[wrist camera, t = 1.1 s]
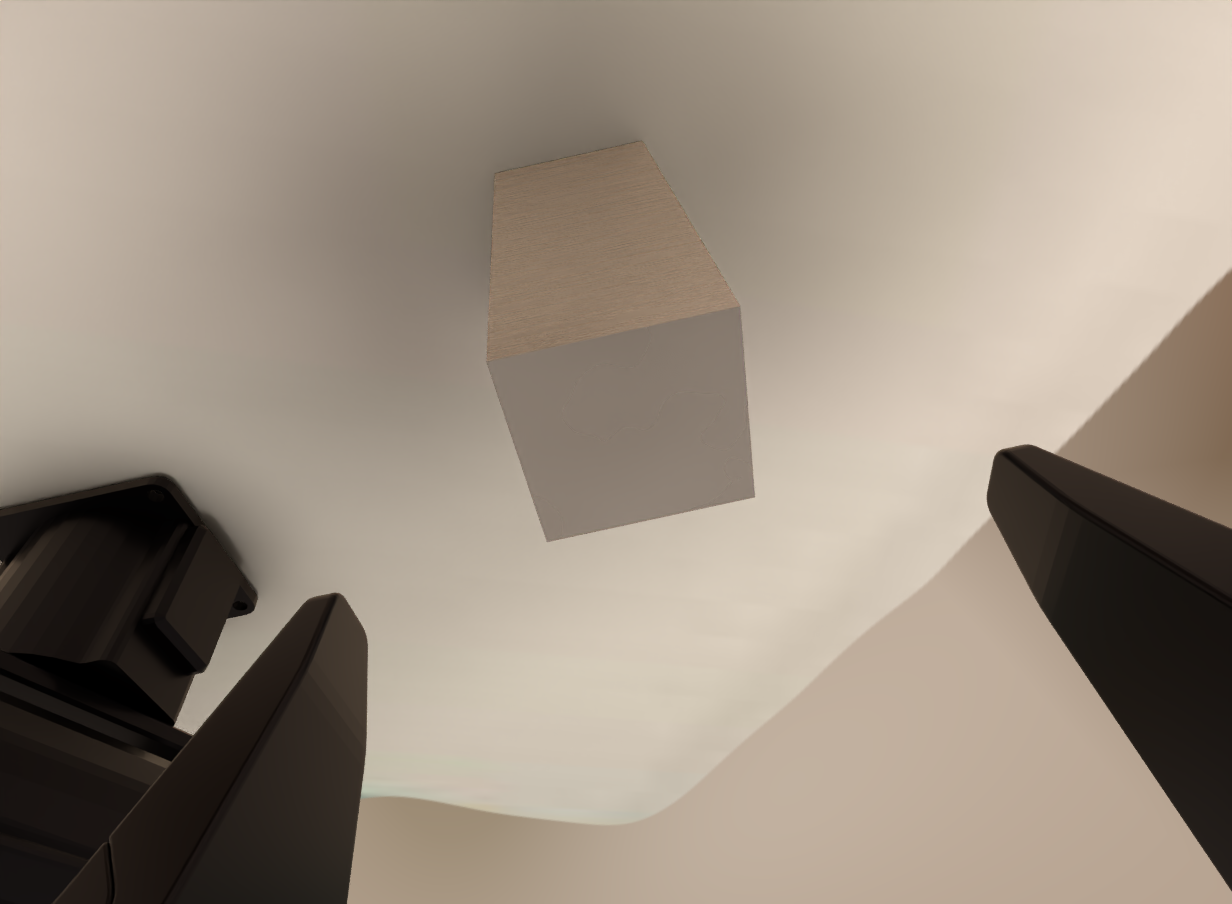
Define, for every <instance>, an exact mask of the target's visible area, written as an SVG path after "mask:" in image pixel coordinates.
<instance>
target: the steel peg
mask: <svg viewBox="0 0 1232 904" xmlns="http://www.w3.org/2000/svg"><path fill="white" fill-rule="evenodd" d="M487 365H488V368H489V371H490V374H491V377H492V380H493V383H494V386H495V389H496V391H497V394H498V397H499V400H500V403H501V406H502V409H503V412H504V415H505V418H506V421H507V424H508V427H509V430H510V433H511V436H512V439H513V442H514V445H515V448H516V451H517V454H518V457H519V460H520V463H521V466H522V469H523V472H524V475H525V478H526V481H527V484H528V487H529V490H530V493H531V496H532V499H533V502H534V505H535V508H536V511H537V514H538V517H539V520H540V523H541V526H542V528H543V531H544V534H545V537H546V540H547V542H550V541H554V540H559V539H563V538H568V537H573V536H577V535H582V534H587V533H591V532H596V531H600V530H605V529H610V528H614V527H619V526H624V525H628V524H633V523H637V522H642V521H647V520H651V519H656V518H661V517H665V516H670V515H674V514H679V513H684V512H688V511H693V510H698V509H702V508H707V507H711V506H716V505H721V504H725V503H730V502H734V501H739V500H744V499H748V498H753V497H755V492H754V479H753V466H752V453H751V440H750V427H749V414H748V402H747V389H746V376H745V363H744V350H743V337H742V324H741V311H740V305H739V303H738V302H737V300H736V298H735V297H734V295H733V293H732V292H731V290H730V288H729V286H728V285H727V283H726V281H725V280H724V278H723V276H722V275H721V273H720V271H719V270H718V268H717V266H716V264H715V263H714V261H713V259H712V258H711V256H710V254H709V253H708V251H707V249H706V247H705V246H704V244H703V242H702V241H701V239H700V237H699V236H698V234H697V232H696V231H695V229H694V227H693V225H692V224H691V222H690V220H689V219H688V217H687V215H686V214H685V212H684V210H683V209H682V207H681V205H680V203H679V202H678V200H677V198H676V197H675V195H674V193H673V192H672V190H671V188H670V187H669V185H668V183H667V181H666V180H665V178H664V176H663V175H662V173H661V171H660V170H659V168H658V166H657V164H656V163H655V161H654V159H653V158H652V156H651V154H650V153H649V151H648V149H647V148H646V146H645V144H644V142H643V141H639V142H634V143H630V144H625V145H621V146H616V147H612V148H607V149H603V150H598V151H594V152H589V153H585V154H580V155H576V156H571V157H567V158H562V159H558V160H553V161H549V162H544V163H540V164H535V165H531V166H526V167H522V168H517V169H513V170H508V171H504V172H499V173H495V180H494V203H493V226H492V249H491V271H490V294H489V317H488V339H487Z"/></svg>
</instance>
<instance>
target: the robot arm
mask: <svg viewBox="0 0 1232 904" xmlns="http://www.w3.org/2000/svg"><path fill="white" fill-rule="evenodd" d="M153 490H157V491H160V492H161V493H162V494H158V493H156V492H154V491H153ZM987 504H988V508H989V511H990V513H991V515H992V517H993V519H994V521H995V523H996V524H997V527H998V528H999V530H1000V532H1001V534H1002V536H1003V538H1004V540H1005V542H1006V544H1007V546H1008V548H1009V549H1010V551H1011V553H1012V555H1013V557H1014V559H1015V561H1016V563H1017V565H1018V567H1019V569H1020V571H1021V573H1022V574H1023V576H1024V578H1025V580H1026V582H1027V584H1028V586H1029V588H1030V590H1031V592H1032V593H1033V595H1034V597H1035V599H1036V601H1037V602H1038V604H1039V606H1040V608H1041V609H1042V611H1043V612H1044V614H1045V615H1046V617H1047V618H1048V620H1049V622H1050V623H1051V625H1052V626H1053V628H1054V629H1055V630H1056V632H1057V633H1058V635H1059V636H1060V638H1061V639H1062V641H1063V642H1064V644H1065V645H1066V647H1067V648H1068V650H1069V651H1070V653H1071V654H1072V656H1073V657H1074V659H1075V660H1076V662H1077V663H1078V664H1079V666H1080V667H1081V669H1082V670H1083V672H1084V673H1085V675H1086V676H1087V678H1088V679H1089V681H1090V682H1091V684H1092V685H1093V687H1094V688H1095V690H1096V691H1097V692H1098V694H1099V696H1100V697H1101V699H1102V700H1103V702H1104V703H1105V704H1106V706H1107V707H1108V709H1109V710H1110V712H1111V713H1112V715H1113V716H1114V718H1115V719H1116V721H1117V722H1118V724H1119V725H1120V727H1121V728H1122V730H1123V731H1124V733H1125V734H1126V735H1127V737H1128V738H1129V740H1130V741H1131V743H1132V744H1133V746H1134V747H1135V749H1136V750H1137V752H1138V753H1139V755H1140V756H1141V758H1142V759H1143V761H1144V762H1145V764H1146V765H1147V767H1148V768H1149V770H1150V771H1151V773H1152V774H1153V776H1154V777H1155V779H1156V780H1157V781H1158V783H1159V784H1160V786H1161V787H1162V789H1163V790H1164V792H1165V793H1166V795H1167V796H1168V798H1169V799H1170V801H1171V802H1172V804H1173V805H1174V807H1175V808H1176V810H1177V811H1178V812H1179V814H1180V816H1181V817H1182V818H1183V820H1184V821H1185V823H1186V824H1187V826H1188V827H1189V829H1190V830H1191V832H1192V833H1193V835H1194V836H1195V838H1196V839H1197V841H1198V842H1199V844H1200V845H1201V847H1202V848H1203V850H1204V851H1205V853H1206V854H1207V855H1208V857H1209V858H1210V860H1211V861H1212V863H1213V864H1214V866H1215V867H1216V869H1217V870H1218V872H1219V873H1220V875H1221V876H1222V877H1223V879H1224V881H1225V882H1226V884H1227V885H1228V886H1229V888H1230V890H1231V891H1232V529H1231V528H1229V527H1227V526H1224V525H1221V524H1219V523H1217V522H1215V521H1212V520H1210V519H1208V518H1205V517H1203V516H1200V515H1198V514H1196V513H1193V512H1191V511H1189V510H1186V509H1184V508H1181V507H1179V506H1176V505H1174V504H1172V503H1169V502H1167V501H1165V500H1162V499H1160V498H1158V497H1155V496H1153V495H1150V494H1148V493H1146V492H1143V491H1141V490H1139V489H1136V488H1134V487H1131V486H1129V485H1127V484H1124V483H1122V482H1120V481H1117V480H1115V479H1112V478H1110V477H1107V476H1105V475H1103V474H1101V473H1098V472H1096V471H1093V470H1091V469H1088V468H1086V467H1084V466H1081V465H1079V464H1077V463H1074V462H1072V461H1070V460H1067V459H1065V458H1062V457H1060V456H1058V455H1055V454H1053V453H1051V452H1048V451H1046V450H1043V449H1041V448H1039V447H1036V446H1033V445H1029V444H1027V445H1020V446H1015V447H1010V448H1006V449H1002V450H1000V451H998V452H997V454H996V455H995V457H994V460H993V465H992V470H991V475H990V480H989V486H988V491H987ZM0 560H1V561H2V564H1V565H0V904H347V898H348V890H349V882H350V875H351V867H352V859H353V852H354V844H355V836H356V828H357V820H358V813H359V804H360V797H361V789H362V781H363V774H364V765H365V755H366V738H367V669H368V643H367V637H366V633H365V630H364V628H363V626H362V625H361V623H360V621H359V620H358V618H357V617H356V615H355V613H354V612H353V610H352V609H351V607H350V605H349V604H348V602H347V600H346V599H345V598H344V596H343V595H341V594H340V593H330V594H326V595H321V596H316V597H312V598H310V599H308V600H307V601H306V602H305V603H304V604H303V605H302V606H301V607H300V609H299V610H298V611H297V612H296V613H295V615H294V616H293V617H292V618H291V619H290V621H289V622H288V623H287V624H286V625H285V627H284V628H283V629H282V630H281V631H280V633H279V634H278V635H277V636H276V637H275V639H274V640H273V641H272V642H271V643H270V645H269V646H268V647H267V648H266V649H265V651H264V652H263V653H262V654H261V655H260V657H259V658H258V659H257V660H256V661H255V662H254V664H253V665H252V666H251V667H250V668H249V670H248V671H247V672H246V673H245V674H244V676H243V677H242V678H241V679H240V680H239V682H238V683H237V684H236V685H235V686H234V688H233V689H232V690H231V691H230V692H229V694H228V695H227V696H226V697H225V698H224V700H223V701H222V702H221V703H220V704H219V706H218V707H217V708H216V709H215V710H214V712H213V713H212V714H211V715H210V716H209V718H208V719H207V720H206V721H205V722H204V723H203V725H202V726H201V727H200V728H199V729H198V731H197V732H196V733H195V734H194V735H191V734H189V733H187V732H185V731H182V730H180V729H178V728H176V727H173V726H174V724H175V722H176V720H177V717H178V715H179V713H180V710H181V708H182V705H183V703H184V700H185V698H186V695H187V693H188V690H189V688H190V686H191V683H192V681H193V678H194V676H195V674H199V673H203V672H204V671H205V670H206V668H207V666H208V665H209V662H210V660H211V657H212V655H213V652H214V650H215V647H216V645H217V642H218V639H219V637H220V634H221V632H222V629H223V627H224V624H225V622H226V619H228V618H233V617H237V616H242V615H247V614H249V613H251V612H252V611H254V609H255V606H256V603H257V600H258V598H257V595H256V594H255V592H254V591H253V590H252V588H251V587H250V586H249V584H248V583H247V582H246V580H245V579H244V577H243V575H242V574H241V572H240V571H239V570H238V568H237V567H236V565H235V564H234V563H233V561H232V560H231V559H230V557H229V556H228V555H227V553H226V552H225V551H224V549H223V548H222V546H221V545H220V544H219V542H218V541H217V540H216V538H215V537H214V536H213V534H212V533H211V532H210V530H209V529H207V527H206V526H205V525H204V523H203V522H202V521H201V519H200V518H199V517H198V515H197V514H196V513H195V511H194V510H193V508H192V507H191V506H190V504H189V503H188V502H187V500H186V499H185V498H184V496H183V495H182V494H181V492H180V491H179V490H178V488H177V487H176V485H175V484H174V483H173V482H171V481H170V480H168V479H166V478H164V477H159V476H154V477H148V478H143V479H139V480H134V481H129V482H125V483H120V484H116V485H111V486H107V487H102V488H97V489H93V490H88V491H84V492H79V493H74V494H70V495H65V496H61V497H56V498H52V499H47V500H42V501H38V502H33V503H29V504H24V505H20V506H15V507H10V508H6V509H1V510H0ZM240 601H242V602H240Z"/></svg>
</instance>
